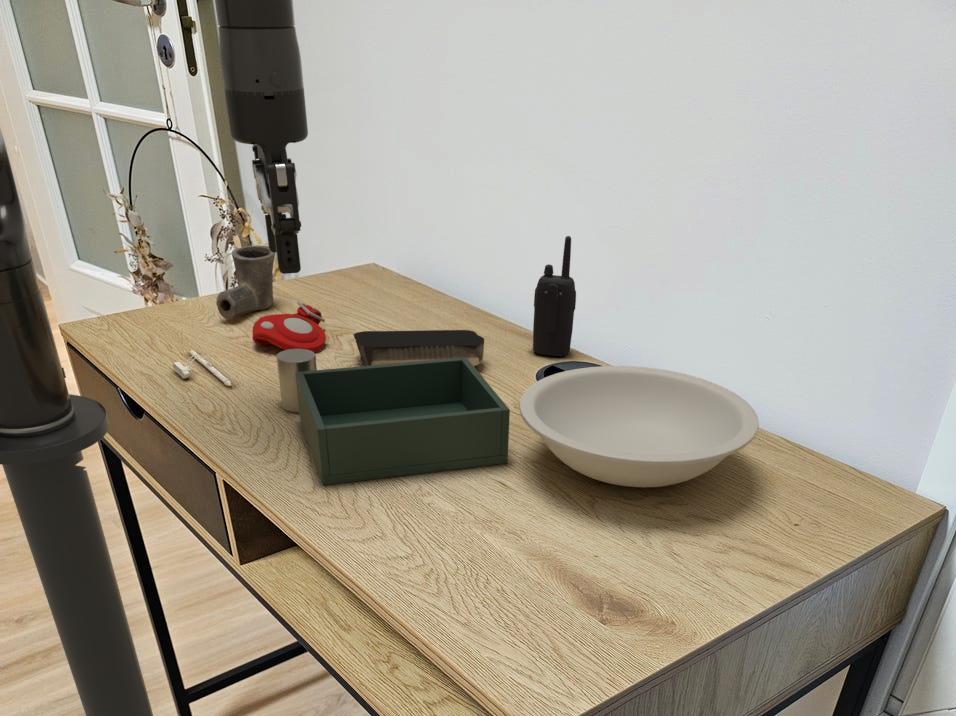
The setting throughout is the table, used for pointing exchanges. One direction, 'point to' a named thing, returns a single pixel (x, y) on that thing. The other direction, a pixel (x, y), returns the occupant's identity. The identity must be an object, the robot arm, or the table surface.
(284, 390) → the metal cylinder
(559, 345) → the two-way radio
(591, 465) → the soup bowl
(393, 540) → the table surface
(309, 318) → the tracker holder
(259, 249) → the pipe
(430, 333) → the bristle scrub brush
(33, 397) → the robot arm
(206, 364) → the picture light
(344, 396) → the bin
